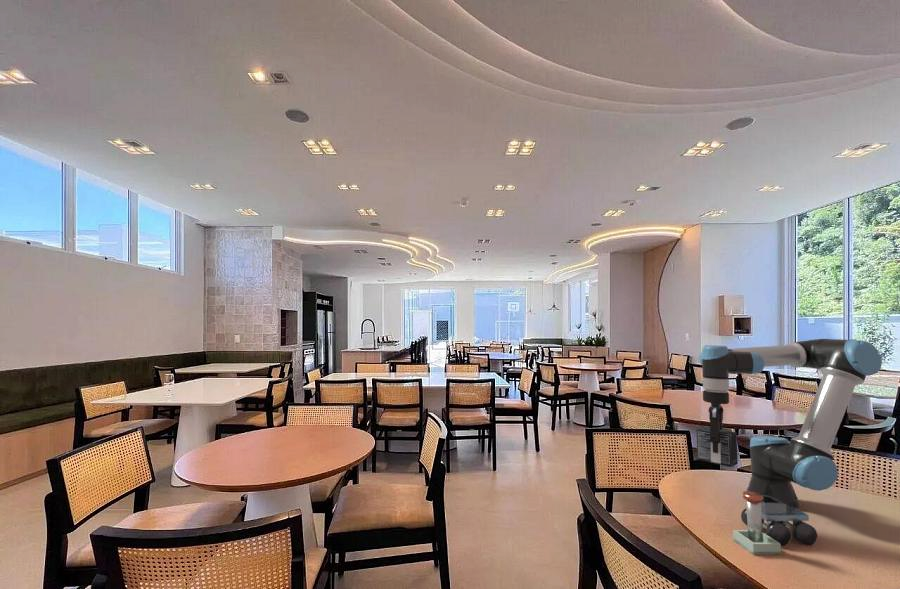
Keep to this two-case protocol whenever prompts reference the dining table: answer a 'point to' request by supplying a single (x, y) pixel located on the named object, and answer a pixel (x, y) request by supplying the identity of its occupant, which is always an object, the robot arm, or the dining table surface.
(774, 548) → the tray
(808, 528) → the trolley
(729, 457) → the small box
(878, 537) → the dining table surface
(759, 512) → the pin
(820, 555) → the dining table surface
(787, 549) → the dining table surface
